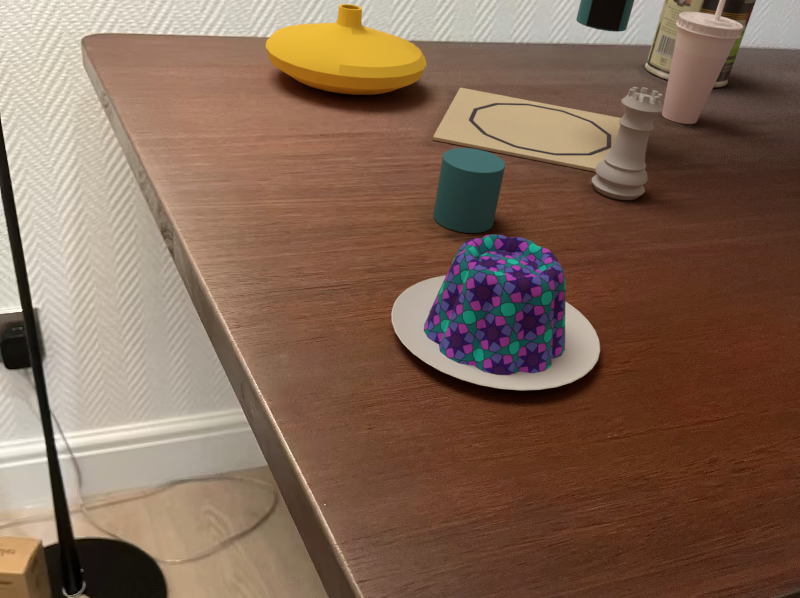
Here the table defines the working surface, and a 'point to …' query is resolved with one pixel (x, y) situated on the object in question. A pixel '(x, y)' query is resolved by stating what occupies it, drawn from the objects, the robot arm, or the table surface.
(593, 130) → the sheet
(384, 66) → the vase
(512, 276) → the pudding
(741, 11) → the coffee can
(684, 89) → the smoothie
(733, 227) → the table surface
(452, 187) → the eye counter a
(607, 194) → the rook chess piece
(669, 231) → the table surface
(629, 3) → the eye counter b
